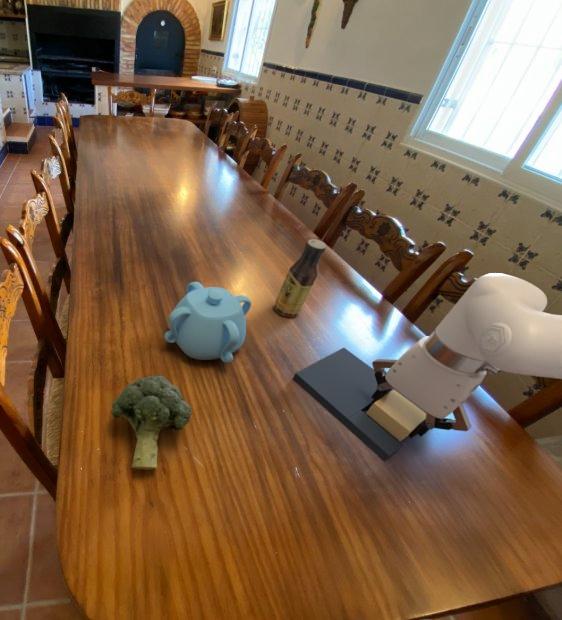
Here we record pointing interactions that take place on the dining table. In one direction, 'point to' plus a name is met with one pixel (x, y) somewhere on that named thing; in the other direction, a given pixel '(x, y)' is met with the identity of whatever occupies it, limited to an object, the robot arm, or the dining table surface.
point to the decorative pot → (209, 323)
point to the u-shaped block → (349, 396)
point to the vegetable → (151, 414)
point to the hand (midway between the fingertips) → (394, 417)
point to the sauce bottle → (299, 280)
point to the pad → (396, 415)
